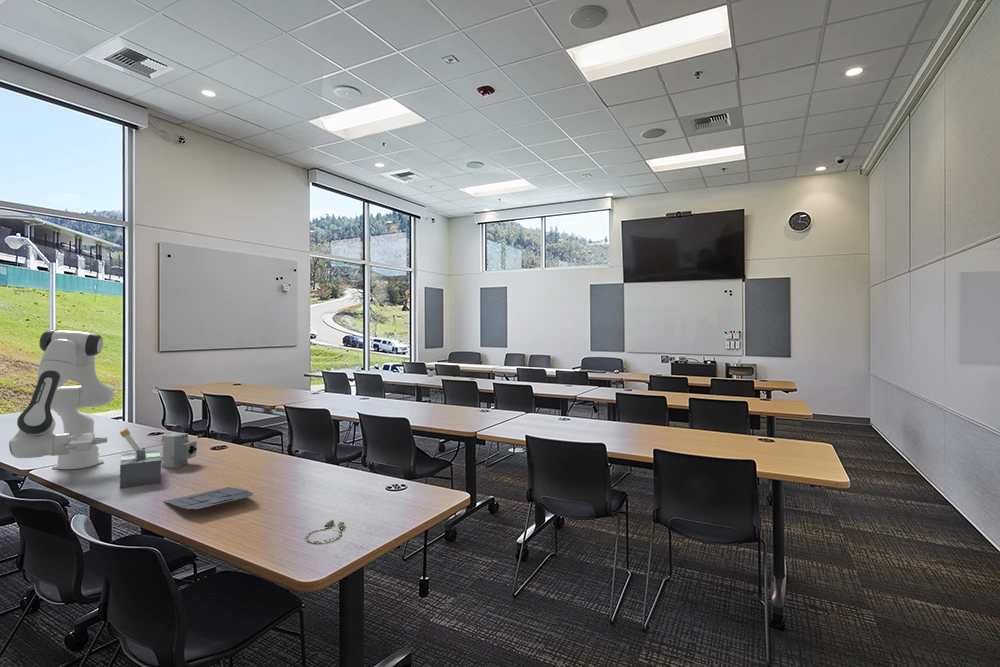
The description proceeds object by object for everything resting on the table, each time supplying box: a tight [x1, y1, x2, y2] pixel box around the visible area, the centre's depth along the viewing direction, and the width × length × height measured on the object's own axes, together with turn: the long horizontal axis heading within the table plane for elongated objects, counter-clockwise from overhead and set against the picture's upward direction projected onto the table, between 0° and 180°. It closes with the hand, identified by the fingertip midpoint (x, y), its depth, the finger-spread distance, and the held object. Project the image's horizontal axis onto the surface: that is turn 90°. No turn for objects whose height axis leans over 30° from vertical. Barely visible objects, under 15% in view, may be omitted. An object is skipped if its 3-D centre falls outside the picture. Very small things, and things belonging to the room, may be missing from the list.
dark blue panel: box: [163, 486, 255, 510], centre depth 189 cm, size 24×30×4 cm
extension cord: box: [305, 519, 345, 543], centre depth 163 cm, size 12×16×2 cm
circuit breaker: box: [160, 432, 198, 468], centre depth 241 cm, size 8×14×15 cm, turn 89°
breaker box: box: [119, 446, 162, 490], centre depth 217 cm, size 22×14×14 cm, turn 37°
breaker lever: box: [119, 428, 142, 453], centre depth 215 cm, size 3×3×14 cm
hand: (107, 439), depth 210 cm, fingers closed
